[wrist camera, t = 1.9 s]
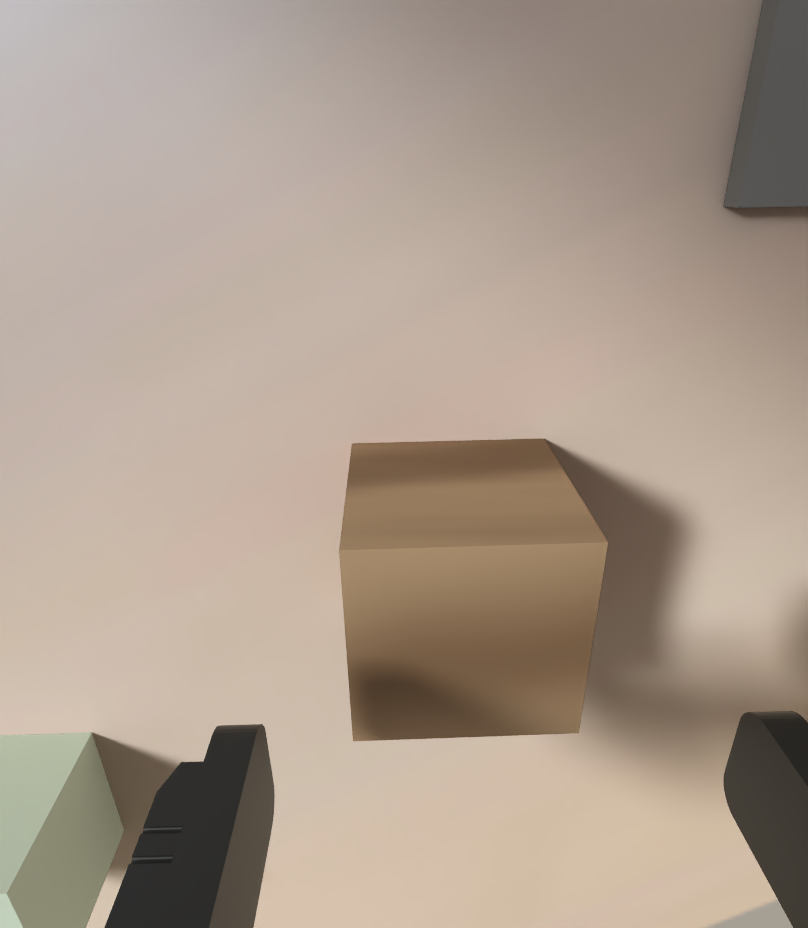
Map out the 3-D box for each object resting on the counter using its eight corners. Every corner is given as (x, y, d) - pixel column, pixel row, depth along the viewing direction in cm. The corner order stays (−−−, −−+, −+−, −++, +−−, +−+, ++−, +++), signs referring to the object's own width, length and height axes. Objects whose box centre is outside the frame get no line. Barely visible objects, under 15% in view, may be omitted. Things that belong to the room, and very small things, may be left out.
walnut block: (351, 442, 16) (339, 550, 11) (543, 437, 16) (608, 542, 11) (360, 597, 18) (353, 741, 13) (529, 592, 18) (578, 732, 13)
